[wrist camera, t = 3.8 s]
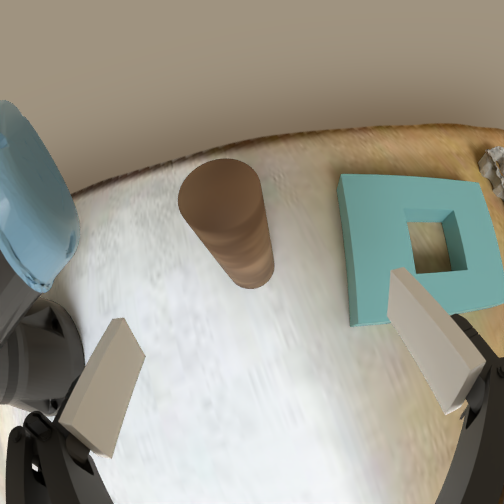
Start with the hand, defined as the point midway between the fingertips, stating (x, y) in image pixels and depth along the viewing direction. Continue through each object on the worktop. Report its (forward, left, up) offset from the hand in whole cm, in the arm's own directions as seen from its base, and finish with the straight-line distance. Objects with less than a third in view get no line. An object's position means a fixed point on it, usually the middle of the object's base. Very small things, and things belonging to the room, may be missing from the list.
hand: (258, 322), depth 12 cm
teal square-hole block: (+16, +7, -12) cm, 21 cm away
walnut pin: (-2, +6, -12) cm, 14 cm away
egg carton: (+34, +17, -12) cm, 40 cm away
